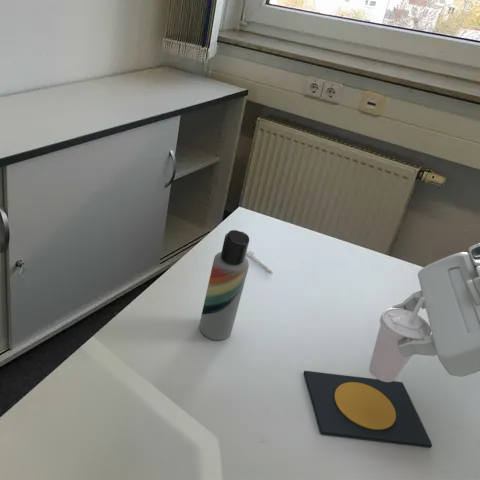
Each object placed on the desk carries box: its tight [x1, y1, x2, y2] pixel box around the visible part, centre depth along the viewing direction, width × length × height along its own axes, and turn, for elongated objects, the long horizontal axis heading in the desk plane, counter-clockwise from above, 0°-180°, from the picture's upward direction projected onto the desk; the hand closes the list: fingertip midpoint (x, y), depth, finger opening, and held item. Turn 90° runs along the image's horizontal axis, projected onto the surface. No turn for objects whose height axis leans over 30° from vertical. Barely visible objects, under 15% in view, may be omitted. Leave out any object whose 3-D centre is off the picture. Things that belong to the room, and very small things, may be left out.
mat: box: [303, 370, 433, 448], centre depth 83 cm, size 16×12×1 cm
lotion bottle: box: [199, 229, 250, 341], centre depth 90 cm, size 6×6×20 cm
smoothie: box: [368, 297, 432, 382], centre depth 75 cm, size 6×6×14 cm
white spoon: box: [246, 248, 275, 274], centre depth 115 cm, size 14×4×2 cm, turn 30°
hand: (396, 331), depth 75 cm, fingers closed on smoothie, 6 cm apart
